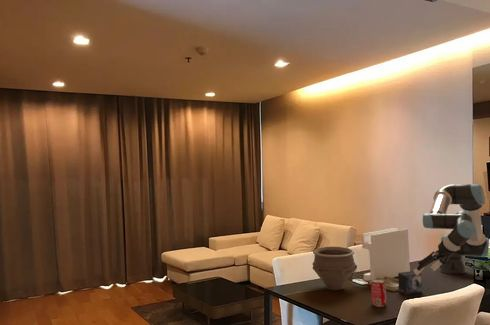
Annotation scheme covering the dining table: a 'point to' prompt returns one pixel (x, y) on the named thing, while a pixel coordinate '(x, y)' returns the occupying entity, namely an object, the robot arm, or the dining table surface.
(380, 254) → the block
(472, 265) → the dining table surface
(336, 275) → the planter
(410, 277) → the small box
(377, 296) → the soda can
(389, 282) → the tray
